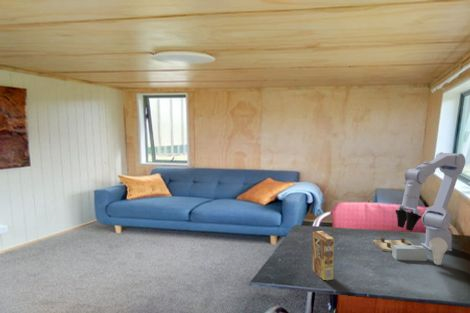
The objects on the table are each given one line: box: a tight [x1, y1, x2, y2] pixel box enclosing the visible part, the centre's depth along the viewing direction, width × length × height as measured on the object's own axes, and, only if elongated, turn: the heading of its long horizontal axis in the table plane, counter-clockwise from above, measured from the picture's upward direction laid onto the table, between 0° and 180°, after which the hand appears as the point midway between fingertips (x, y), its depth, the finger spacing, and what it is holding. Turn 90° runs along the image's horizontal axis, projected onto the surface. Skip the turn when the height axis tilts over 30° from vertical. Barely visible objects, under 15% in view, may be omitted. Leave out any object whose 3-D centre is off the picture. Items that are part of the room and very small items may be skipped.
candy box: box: [312, 230, 335, 281], centre depth 115 cm, size 9×4×15 cm, turn 13°
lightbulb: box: [429, 237, 448, 266], centre depth 123 cm, size 6×6×11 cm
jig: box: [372, 237, 416, 253], centre depth 143 cm, size 16×12×3 cm
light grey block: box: [391, 245, 428, 262], centre depth 130 cm, size 12×4×5 cm, turn 85°
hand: (404, 228), depth 131 cm, fingers open, 7 cm apart
